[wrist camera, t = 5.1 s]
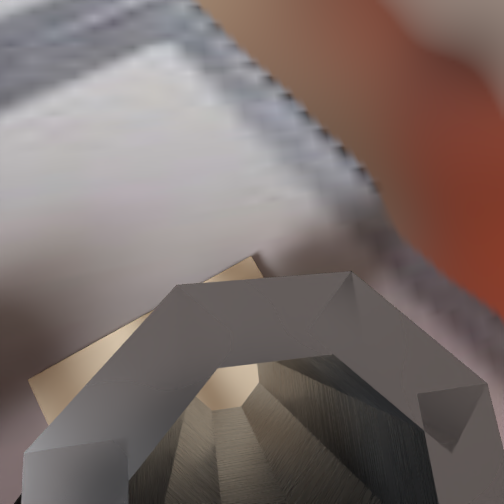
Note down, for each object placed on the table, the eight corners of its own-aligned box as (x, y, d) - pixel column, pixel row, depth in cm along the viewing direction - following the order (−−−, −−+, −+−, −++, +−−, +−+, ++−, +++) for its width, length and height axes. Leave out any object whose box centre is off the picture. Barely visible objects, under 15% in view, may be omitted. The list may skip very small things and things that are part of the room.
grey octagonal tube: (305, 441, 16) (698, 880, 3) (149, 467, 15) (-194, 1325, 2) (286, 291, 17) (500, 192, 5) (144, 303, 16) (-61, 215, 4)
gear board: (230, 801, 17) (231, 818, 16) (32, 378, 20) (27, 379, 20) (443, 586, 21) (450, 594, 20) (249, 257, 24) (251, 255, 23)
